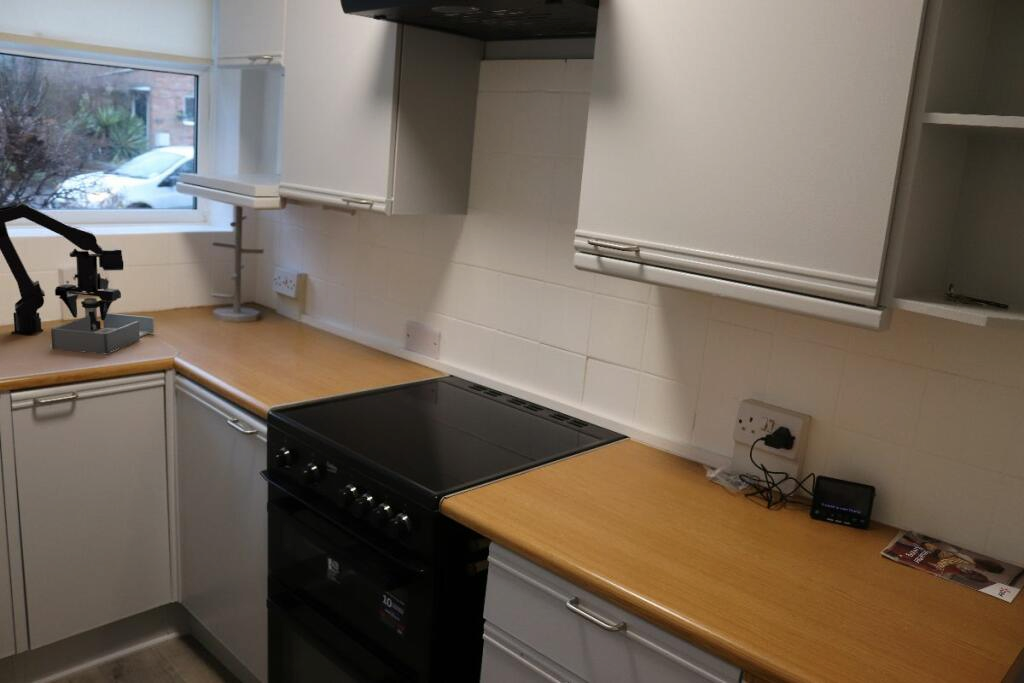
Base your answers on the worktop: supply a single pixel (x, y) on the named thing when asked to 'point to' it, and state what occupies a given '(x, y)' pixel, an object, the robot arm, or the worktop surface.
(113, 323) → the tray
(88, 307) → the push button
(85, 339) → the dock
